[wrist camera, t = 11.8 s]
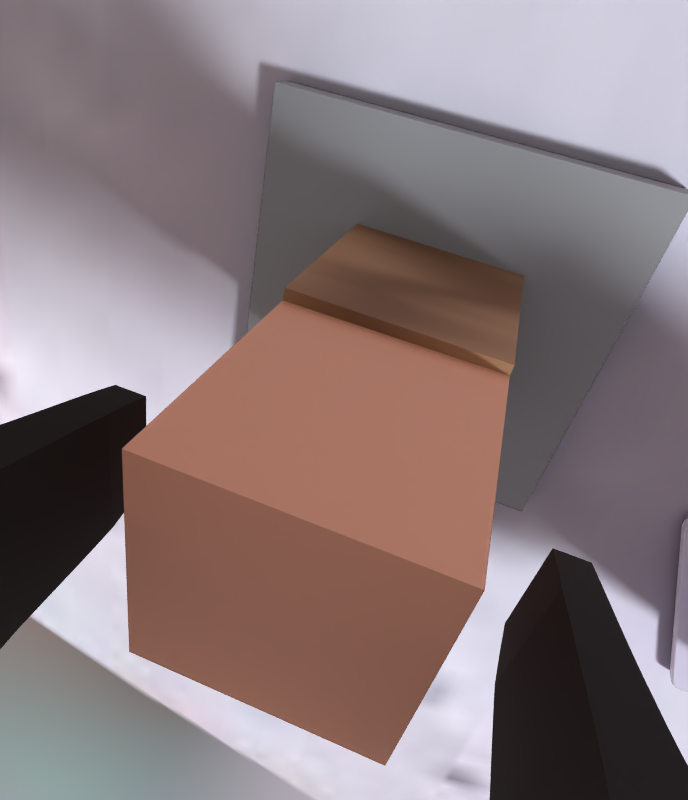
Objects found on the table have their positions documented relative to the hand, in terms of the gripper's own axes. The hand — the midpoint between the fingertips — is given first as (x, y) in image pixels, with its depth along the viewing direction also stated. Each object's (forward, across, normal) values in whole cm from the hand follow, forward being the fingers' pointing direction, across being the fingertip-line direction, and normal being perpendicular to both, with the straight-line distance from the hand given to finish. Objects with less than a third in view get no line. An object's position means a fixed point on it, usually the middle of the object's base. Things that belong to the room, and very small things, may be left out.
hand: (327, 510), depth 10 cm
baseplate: (+8, 0, 0) cm, 8 cm away
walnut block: (+8, 0, 0) cm, 8 cm away
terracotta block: (+3, 0, 0) cm, 3 cm away
